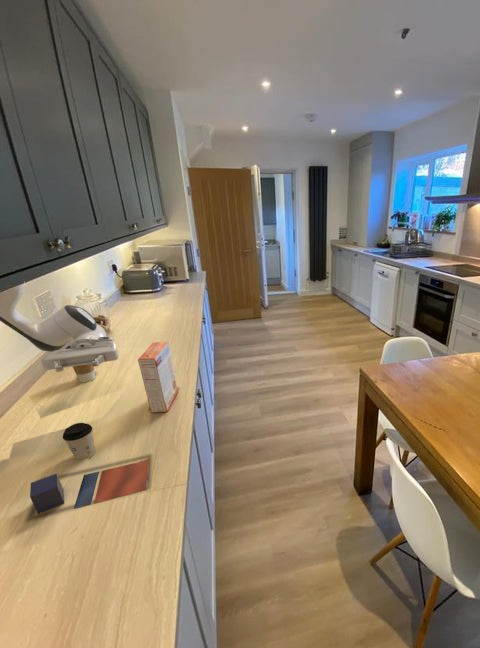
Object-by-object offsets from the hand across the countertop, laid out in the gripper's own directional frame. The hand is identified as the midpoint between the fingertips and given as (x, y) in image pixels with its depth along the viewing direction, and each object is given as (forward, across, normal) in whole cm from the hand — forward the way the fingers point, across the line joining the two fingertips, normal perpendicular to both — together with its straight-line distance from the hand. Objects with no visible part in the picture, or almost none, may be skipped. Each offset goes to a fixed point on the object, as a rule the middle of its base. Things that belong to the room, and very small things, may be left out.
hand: (76, 366), depth 96 cm
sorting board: (+29, +5, +21) cm, 36 cm away
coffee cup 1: (-37, -9, +22) cm, 44 cm away
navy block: (+31, -4, +21) cm, 38 cm away
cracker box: (-7, +21, +22) cm, 31 cm away
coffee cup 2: (+15, 0, +22) cm, 26 cm away
